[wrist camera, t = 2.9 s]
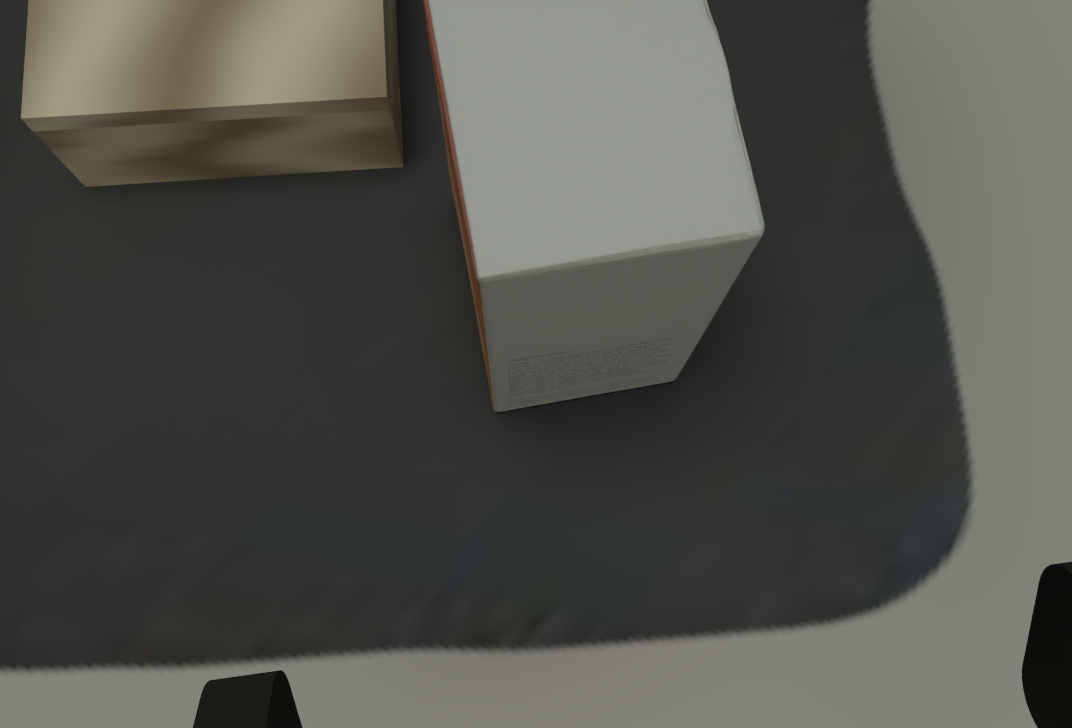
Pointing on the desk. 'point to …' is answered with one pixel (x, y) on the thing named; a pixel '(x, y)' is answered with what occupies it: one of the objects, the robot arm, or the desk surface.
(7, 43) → the desk surface
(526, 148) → the small box
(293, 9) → the birch riser
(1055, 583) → the robot arm
